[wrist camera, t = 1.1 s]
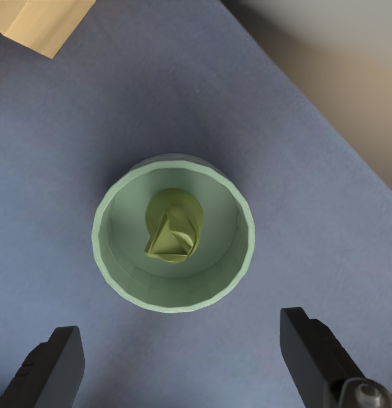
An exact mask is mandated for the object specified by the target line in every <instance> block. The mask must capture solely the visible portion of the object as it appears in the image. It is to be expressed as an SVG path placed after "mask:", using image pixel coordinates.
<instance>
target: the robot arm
mask: <svg viewBox="0 0 392 408" xmlns="http://www.w3.org/2000/svg"><path fill="white" fill-rule="evenodd" d="M280 347H281V352H282V356H283V358H284V361H285V363H286V365H287V367H288V370H289V372H290V374H291V376H292V378H293V381H294V383H295V385H296V387H297V389H298V392H299V394H300V396H301V398H302V400H303V403H304V405H305V407H306V408H392V394H391V393H390V392H389V391H388V390H387V389H386V388H385V387H383V386H382V385H381V384H379V383H377V382H375V381H373V380H370V379H367V378H366V377H365V376H364V375H363V373H362V372H361V371H360V369H359V368H358V367H357V365H356V364H355V363H354V361H353V360H352V359H351V357H350V356H349V355H348V353H347V352H346V351H345V349H344V348H343V347H342V345H341V344H340V342H339V341H338V340H337V339H336V338H335V336H334V334H333V333H332V332H331V330H330V329H329V328H328V327H327V326H326V325H325V324H323V323H322V322H320V321H319V320H317V319H309V318H308V316H307V315H306V313H305V312H304V310H303V309H302V308H301V307H292V308H282V309H281V312H280ZM84 368H85V359H84V353H83V347H82V342H81V336H80V331H79V328H78V326H68V327H57V328H56V329H55V330H54V332H53V333H52V335H51V337H50V338H49V340H48V342H44V343H40V344H39V345H38V346H37V347H36V348H35V349H33V350H32V351H31V352H30V353H29V354H28V356H27V357H26V359H25V360H24V362H23V364H22V367H20V368H19V370H18V371H17V373H16V374H15V377H14V378H13V379H12V381H11V382H10V384H9V385H8V387H7V388H6V390H5V392H4V393H3V395H2V396H1V398H0V408H71V407H72V405H73V402H74V399H75V397H76V394H77V391H78V389H79V386H80V383H81V380H82V378H83V374H84Z"/></svg>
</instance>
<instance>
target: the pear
mask: <svg viewBox="0 0 392 408" xmlns="http://www.w3.org/2000/svg"><path fill="white" fill-rule="evenodd" d="M145 223H146V227H147V230H148V233H149V235H150V239H149V241H148V243H147V245H146V247H145V249H144V252H145V254H146V255H147V256H149V257H152V258H160V259H163V260H165V261H166V262H169V263H173V264H176V263H180V262H183V261H184V260H186V259H187V258H188V257H189V256H190V255H192V254H193V252H194V251H195V250H196V248H197V246H198V244H199V240H200V232H201V229H202V225H203V209H202V206H201V204H200V203H199V201H198V200H197V199H196V198H195V197H194V196H193V195H192V194H190V193H189V192H187V191H184V190H182V189H177V188H168V189H164V190H161V191H160V192H158V193H157V194H156V195H154V196H153V198H152V199H151V200H150V202H149V203H148V206H147V208H146V212H145Z"/></svg>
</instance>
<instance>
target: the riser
mask: <svg viewBox="0 0 392 408" xmlns="http://www.w3.org/2000/svg"><path fill="white" fill-rule="evenodd" d="M95 1H96V0H0V33H1V34H2V35H4V36H6V37H8V38H10V39H12V40H14V41H16V42H18V43H20V44H22V45H24V46H26V47H28V48H30V49H32V50H34V51H36V52H38V53H40V54H42V55H44V56H46V57H49V58H51V59H53V57H54V56H55V55H56V53H57V52H58V51H59V49H60V48H61V47H62V45H63V44H64V43H65V41H66V40H67V39H68V37H69V36H70V35H71V33H72V32H73V31H74V29H75V28H76V27H77V25H78V24H79V23H80V21H81V20H82V19H83V17H84V16H85V15H86V13H87V12H88V11H89V9H90V8H91V7H92V5H93V4H94V3H95Z"/></svg>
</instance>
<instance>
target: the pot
mask: <svg viewBox="0 0 392 408" xmlns="http://www.w3.org/2000/svg"><path fill="white" fill-rule="evenodd" d="M168 188H177V189H182V190H184V191H187V192H189V193H190V194H192V195H193V196H194V197H195V198H196V199H197V200H198V201H199V203H200V204H201V206H202V209H203V225H202V229H201V232H200V240H199V244H198V246H197V248H196V250H195V251H194V252H193V254H192V255H190V256H189V257H188V258H187V259H186V260H184V261H183V262H180V263H176V264H173V263H169V262H166V261H165V260H163V259H160V258H152V257H149V256H147V255H146V254H145V252H144V249H145V247H146V245H147V243H148V241H149V239H150V235H149V233H148V230H147V227H146V223H145V212H146V208H147V206H148V203H149V202H150V200H151V199H152V198H153V196H154V195H156V194H157V193H158V192H160V191H161V190H164V189H168ZM91 239H92V246H93V254H94V258H95V261H96V263H97V265H98V267H99V269H100V271H101V273H102V275H103V277H104V279H105V280H106V281H107V282H108V283H109V284H110V285H111V286H112V287H113V288H114V289H115V290H116V291H117V292H118V293H119V294H120V295H121V296H122V297H123V298H125V299H127V300H129V301H131V302H132V303H134V304H136V305H138V306H140V307H142V308H145V309H150V310H154V311H159V312H164V313H175V312H190V311H194V310H197V309H199V308H202V307H205V306H208V305H211V304H213V303H215V302H216V301H217V300H219V299H220V298H222V297H223V296H224V295H226V294H227V293H229V292H230V291H231V290H232V289H233V288H234V287H235V286H236V284H237V283H238V282H239V280H240V279H241V278H242V276H243V275H244V274H245V273H246V271H247V269H248V266H249V263H250V260H251V258H252V255H253V252H254V248H255V224H254V221H253V218H252V215H251V212H250V209H249V206H248V203H247V201H246V200H245V199H244V197H243V196H242V195H241V193H240V192H239V191H238V189H237V188H236V187H235V186H234V184H233V183H232V182H231V181H230V180H229V178H228V177H227V176H226V175H225V174H224V173H223V172H222V171H221V170H219V169H218V168H216V167H215V166H214V165H212V164H211V163H209V162H207V161H206V160H204V159H201V158H198V157H195V156H191V155H187V154H182V153H168V154H160V155H156V156H153V157H150V158H148V159H145V160H143V161H141V162H139V163H137V164H136V165H134V166H133V167H132V168H131V169H129V170H128V171H127V172H126V173H125V174H123V175H122V176H121V177H120V178H119V179H118V180H117V181H116V182H115V183H114V184H113V185H112V186H111V187H110V188H109V190H108V191H107V193H106V195H105V196H104V198H103V199H102V201H101V203H100V204H99V206H98V208H97V209H96V212H95V217H94V222H93V227H92V231H91Z"/></svg>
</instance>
